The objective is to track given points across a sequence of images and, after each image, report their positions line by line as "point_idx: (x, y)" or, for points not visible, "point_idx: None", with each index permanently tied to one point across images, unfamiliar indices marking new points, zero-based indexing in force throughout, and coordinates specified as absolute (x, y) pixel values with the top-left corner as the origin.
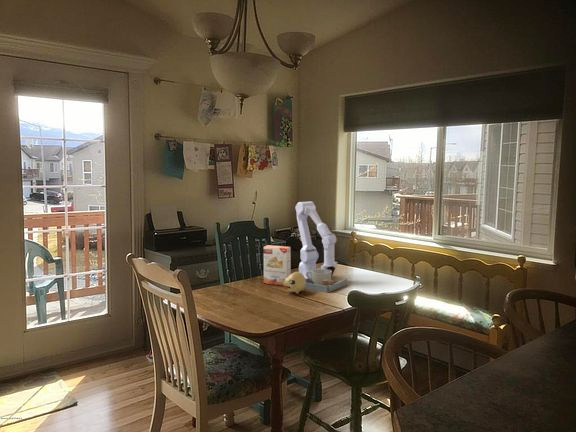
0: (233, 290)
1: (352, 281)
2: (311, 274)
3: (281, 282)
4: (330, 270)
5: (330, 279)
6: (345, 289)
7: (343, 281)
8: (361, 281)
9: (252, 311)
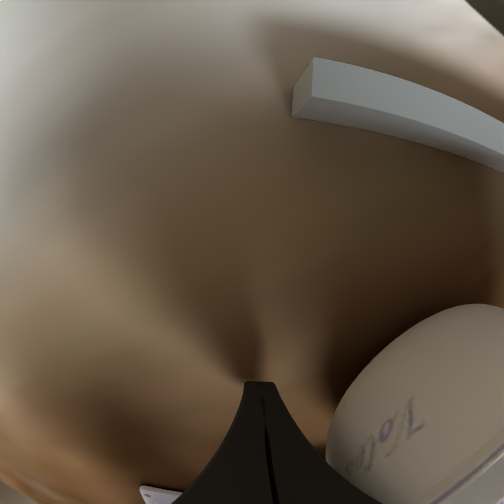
0: None
1: (50, 119)
2: (462, 494)
3: None
4: (469, 480)
5: (493, 316)
6: (484, 57)
7: (423, 93)
8: (20, 41)
9: None
